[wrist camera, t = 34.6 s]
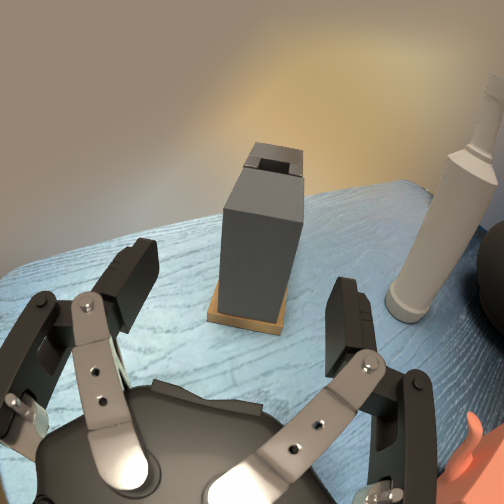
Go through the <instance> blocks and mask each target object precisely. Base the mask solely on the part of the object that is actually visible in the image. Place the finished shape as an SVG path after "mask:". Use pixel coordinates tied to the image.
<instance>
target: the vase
mask: <svg viewBox="0 0 504 504" xmlns="http://www.w3.org/2000/svg"><path fill="white" fill-rule="evenodd" d="M477 276H478V281H479V285H480V292H479V297H480V302H481V306H482V308H483V310H484V312H485V314H486V316H487V317H488V319H489V320H490V322H491V323H492V324H493V326H494V327H495V328H496V329H497V330H498V331H499V332H500V333H501V334H502V335H503V336H504V221H501V222H499V223H497V224H496V225H494V226H493V227H492V228H491V229H490V230H489V231H488V232H487V233H486V235H485V236H484V238H483V240H482V242H481V244H480V247H479V250H478V255H477Z"/></svg>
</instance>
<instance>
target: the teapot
mask: <svg viewBox="0 0 504 504" xmlns="http://www.w3.org/2000/svg"><path fill="white" fill-rule="evenodd" d="M467 422H468V428H469V431H468V435H467V437H466V439H465V441H464V442H463V443H462V444H461V445H460V446H459V447H458V448H457V449H456V451H455V452H454V453H453V454H452V456H451V457H450V459H449V460H448V462H447V465H446V467H445V471H444V472H443V473H442V474H441V476H440V477H439V478H438V479H437V494H436V504H504V423H503V424H502V425H500V426H499V427H497V428H496V429H494V430H492V431H491V432H489V433H488V434H486V435H484V436H483V437H482V433H483V429H482V425H481V422H480V421H479V419H478V417H477V416H476V415H475V414H474V413H472V412H468V413H467Z"/></svg>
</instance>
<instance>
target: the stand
mask: <svg viewBox="0 0 504 504" xmlns="http://www.w3.org/2000/svg"><path fill="white" fill-rule="evenodd" d="M244 167H245V168H252V169H257V170H263V171H269V172H275V173H280V174H285V175H291V176H296V177H301V178H303V150H298V149H293V148H287V147H282V146H276V145H271V144H265V143H258V142H256V143H255V144H254V146H253V148H252V150H251V152H250V154H249V156H248V158H247V160H246V162H245V164H244V166H243V168H244ZM218 288H219V280H218V283H217V286H216V289H215V291H214V294H213V297H212V300H211V303H210V306H209V309H208V312H207V321H210V322H215V323H219V324H224V325H229V326H234V327H239V328H244V329H249V330H254V331H259V332H264V333H270V334H275V335H280V334H281V331H282V328H283V322H284V313H285V303H286V294H287V287H286V291H285V295H284V298H283V302H282V305H281V309H280V312H279V316H278V319H277V323H276V324H274V323H269V322H264V321H258V320H253V319H248V318H243V317H238V316H233V315H229V314H224V313H219V312H217V308H218Z"/></svg>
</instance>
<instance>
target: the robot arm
mask: <svg viewBox="0 0 504 504" xmlns="http://www.w3.org/2000/svg"><path fill="white" fill-rule="evenodd" d="M158 274H159V259H158V250H157V242H156V241H155V240H150V239H145V238H139V239H138V240H137V241H136V242H135V244H134V245H133V246H132V247H128V246H127V247H126V248H125V249H123V250H122V251H120V252H119V253H118V254H117V255H116V257H115V258H114V259H113V262H111V263H110V265H109V266H108V268H107V269H106V270H105V272H104V273H103V274H102V276H101V277H100V279H99V280H98V282H97V283H96V284H95V286H94V287H93V289H92V290H91V291H89V292H84V293H81V294H79V295H78V296H77V297H76V298H75V299H74V300H57V299H56V297H55V295H54V294H53V293H52V292H50V291H41V292H39V293H37V294H35V295H34V296H33V297H32V298H31V300H30V301H29V303H28V304H27V306H26V307H25V309H24V310H23V312H22V313H21V315H20V316H19V318H18V320H17V321H16V323H15V324H14V326H13V328H12V329H11V331H10V333H9V334H8V336H7V338H6V340H5V341H4V343H3V345H2V347H1V348H0V444H2V445H3V446H5V447H7V448H10V449H12V450H14V451H16V452H18V453H20V454H21V455H23V456H25V457H26V458H28V459H29V460H31V461H33V462H34V463H35V465H36V472H37V495H36V498H35V500H34V502H33V504H337V503H336V502H335V500H334V499H333V497H332V496H331V495H330V493H329V492H328V490H327V489H326V487H325V486H324V485H323V483H322V482H321V480H320V479H319V477H318V476H317V474H316V473H315V471H314V470H313V468H312V467H311V465H312V464H313V463H314V462H315V461H316V460H317V459H318V458H319V457H320V456H321V455H322V454H323V453H324V452H325V451H326V450H327V449H328V447H329V446H330V445H331V444H332V443H333V442H334V441H335V440H336V439H337V437H338V436H339V435H340V434H341V433H342V432H343V430H344V429H345V428H346V427H347V426H348V424H349V423H350V422H351V421H352V420H353V418H354V417H355V416H356V414H357V413H358V412H357V411H358V410H360V411H363V412H365V413H368V414H371V415H372V420H371V443H370V459H369V471H368V481H367V486H365V487H363V488H361V489H360V490H358V492H357V493H356V494H355V496H354V498H353V501H352V504H436V494H437V437H436V420H435V408H434V398H433V389H432V383H431V380H430V378H429V377H428V375H427V374H426V373H424V372H423V371H421V370H417V369H413V370H410V371H408V372H407V373H406V374H403V373H401V372H398V371H396V370H393V369H391V368H389V367H388V366H386V363H385V361H384V359H383V357H382V356H381V355H380V354H378V353H377V347H376V339H375V332H374V325H373V318H372V314H371V313H372V312H371V306H370V302H369V300H368V299H367V297H366V295H365V294H364V293H360V292H358V291H357V284H356V280H355V279H350V278H344V277H338V278H337V280H336V282H335V285H334V287H333V290H332V292H331V294H330V297H329V299H328V301H327V305H326V311H325V339H326V349H325V377H329V378H333V380H332V381H331V382H330V383H329V384H328V385H327V386H326V387H324V388H323V389H322V390H321V391H320V392H319V393H318V394H317V395H316V396H315V397H314V398H313V399H312V400H311V401H310V402H309V403H308V404H307V405H306V406H305V407H304V408H303V409H302V410H301V411H300V412H299V413H298V414H297V415H296V416H295V417H294V418H293V419H292V420H291V421H289V422H288V423H287V424H286V425H285V426H284V425H283V424H282V423H280V422H279V421H278V420H277V419H276V418H274V417H273V416H271V415H269V414H268V413H265V412H263V411H262V409H263V404H257V403H252V402H246V401H241V400H236V399H233V400H206V399H203V398H201V397H199V396H197V395H195V394H193V393H191V392H189V391H187V390H185V389H184V388H182V387H180V386H177V385H173V384H170V383H166V382H163V381H159V380H156V379H154V380H153V382H152V385H142V386H136V387H133V388H132V386H131V383H130V381H129V378H128V376H127V373H126V370H125V366H124V363H123V359H122V356H121V352H120V348H119V344H118V341H117V338H116V337H117V335H118V334H119V332H123V333H126V334H128V333H129V331H130V329H131V327H132V325H133V323H134V321H135V319H136V317H137V315H138V313H139V312H140V310H141V308H142V306H143V304H144V302H145V300H146V298H147V296H148V295H149V293H150V291H151V289H152V287H153V285H154V284H155V282H156V280H157V278H158ZM44 338H45V339H44ZM43 340H44V341H43ZM42 342H43V343H42ZM41 344H42V345H41ZM40 346H41V347H40ZM39 347H40V348H39ZM38 349H39V350H38ZM71 351H72V355H73V361H74V368H75V373H76V379H77V384H78V389H79V394H80V399H81V403H82V408H83V412H84V414H83V415H81V416H80V417H78V418H76V419H74V420H72V421H71V422H69V423H67V424H65V425H63V426H62V427H60V428H58V429H56V430H54V431H52V432H50V433H49V434H47V431H48V429H49V424H48V415H47V412H46V408H47V405H48V403H49V400H50V398H51V395H52V393H53V391H54V388H55V386H56V384H57V382H58V379H59V377H60V375H61V373H62V371H63V368H64V366H65V364H66V362H67V360H68V358H69V356H70V354H71Z"/></svg>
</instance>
